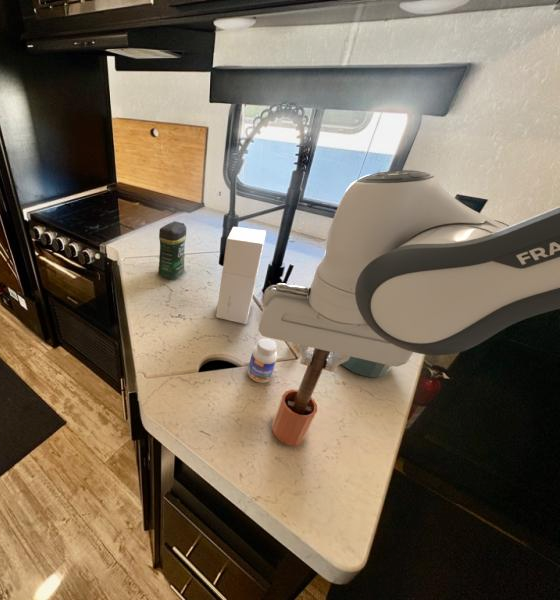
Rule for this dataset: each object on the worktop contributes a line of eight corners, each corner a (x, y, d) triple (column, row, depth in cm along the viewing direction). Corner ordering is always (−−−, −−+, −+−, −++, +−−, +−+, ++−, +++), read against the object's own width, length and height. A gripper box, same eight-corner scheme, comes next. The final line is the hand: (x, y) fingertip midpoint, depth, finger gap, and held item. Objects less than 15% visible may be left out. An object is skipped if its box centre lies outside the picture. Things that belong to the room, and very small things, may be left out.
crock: (303, 423, 63) (316, 394, 58) (303, 450, 58) (317, 422, 53) (273, 413, 65) (283, 385, 60) (270, 439, 60) (281, 411, 55)
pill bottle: (247, 380, 72) (254, 350, 66) (247, 364, 76) (254, 334, 71) (271, 385, 71) (281, 355, 65) (270, 368, 75) (279, 338, 70)
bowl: (383, 349, 80) (393, 332, 77) (393, 384, 71) (405, 366, 68) (331, 338, 84) (339, 321, 81) (334, 370, 75) (343, 352, 71)
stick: (304, 420, 60) (337, 344, 48) (304, 430, 58) (338, 353, 47) (282, 414, 61) (310, 337, 50) (281, 423, 59) (310, 346, 48)
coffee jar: (174, 282, 107) (176, 232, 96) (155, 276, 111) (154, 226, 100) (187, 271, 114) (190, 222, 103) (169, 265, 117) (170, 217, 106)
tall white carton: (215, 317, 91) (226, 238, 77) (222, 301, 98) (232, 226, 84) (246, 324, 89) (263, 244, 74) (250, 307, 95) (266, 230, 81)
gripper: (264, 292, 43) (248, 361, 51) (440, 325, 37) (391, 398, 45) (268, 271, 48) (253, 337, 56) (424, 297, 42) (383, 368, 50)
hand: (316, 365), depth 51 cm, fingers closed on stick, 2 cm apart
